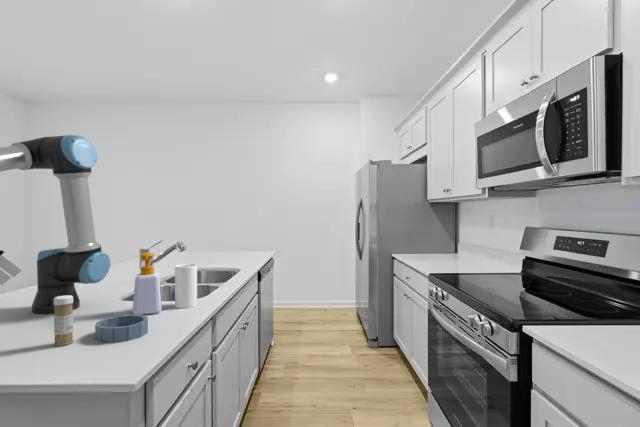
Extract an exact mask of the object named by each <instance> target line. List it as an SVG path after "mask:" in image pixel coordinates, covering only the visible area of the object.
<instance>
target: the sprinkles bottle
mask: <svg viewBox="0 0 640 427" xmlns="http://www.w3.org/2000/svg"><path fill="white" fill-rule="evenodd" d="M72 304H73V296H71V295H65V296H58V297H55V298H54V306H55V313H53V314H54V315H53V318H54V321H53V322H54V323H53V324H54V327H53V331H54V332H53V333H54V343H53V344H54V346H55V347H63V346H65V347H66V346H68V345H71V344H73V342H74V340H73V338H74V336H73V332H74V313H73V311H74V309H72V308H73V306H72Z"/></svg>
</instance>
